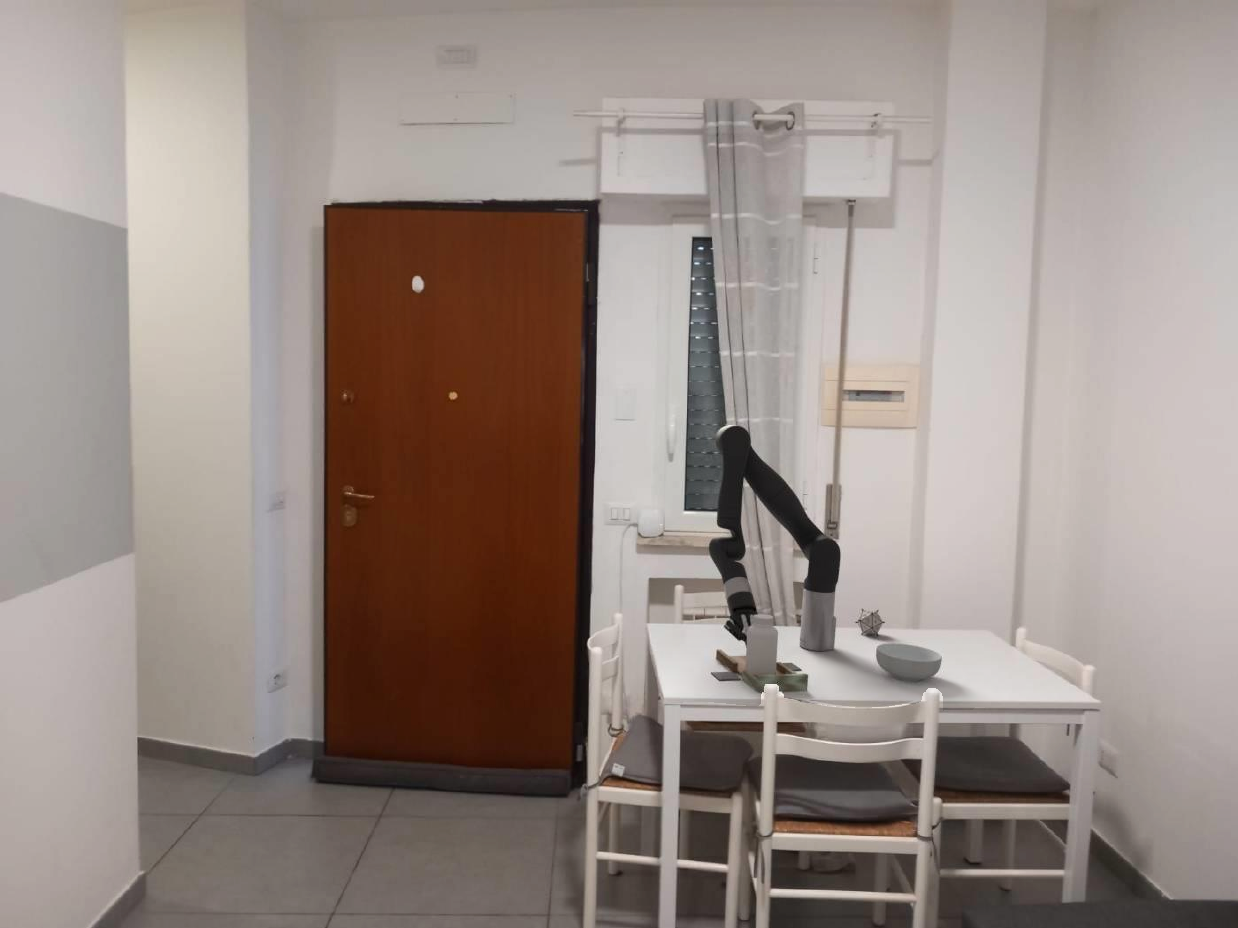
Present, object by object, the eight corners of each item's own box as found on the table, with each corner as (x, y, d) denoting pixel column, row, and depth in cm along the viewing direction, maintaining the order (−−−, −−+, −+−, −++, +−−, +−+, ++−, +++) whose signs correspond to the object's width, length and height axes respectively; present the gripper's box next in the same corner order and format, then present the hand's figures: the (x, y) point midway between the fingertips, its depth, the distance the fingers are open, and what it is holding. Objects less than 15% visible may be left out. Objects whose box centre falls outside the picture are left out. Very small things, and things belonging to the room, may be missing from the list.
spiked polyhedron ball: (871, 644, 280) (887, 619, 282) (876, 642, 272) (893, 616, 274) (846, 628, 282) (863, 603, 284) (851, 625, 274) (868, 599, 276)
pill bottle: (745, 666, 235) (749, 611, 234) (776, 669, 233) (779, 614, 232) (744, 675, 227) (747, 618, 226) (775, 678, 225) (779, 621, 224)
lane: (781, 656, 248) (782, 642, 248) (829, 689, 221) (831, 674, 221) (694, 658, 241) (695, 644, 241) (733, 693, 214) (734, 677, 214)
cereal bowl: (933, 691, 224) (935, 664, 223) (867, 678, 232) (869, 652, 231) (944, 675, 239) (946, 649, 238) (882, 663, 247) (884, 638, 246)
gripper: (721, 590, 241) (735, 646, 230) (766, 590, 244) (781, 645, 233) (713, 604, 246) (726, 660, 235) (757, 604, 249) (771, 659, 238)
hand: (753, 653), depth 234 cm, fingers closed
